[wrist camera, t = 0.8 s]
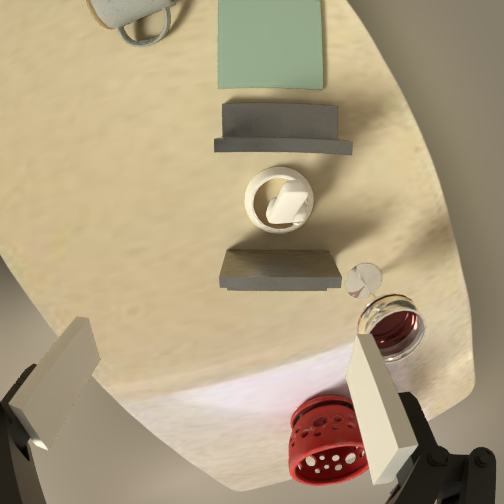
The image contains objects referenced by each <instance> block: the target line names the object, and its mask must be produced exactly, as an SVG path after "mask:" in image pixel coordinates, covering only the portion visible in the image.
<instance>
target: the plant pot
mask: <svg viewBox="0 0 504 504" xmlns="http://www.w3.org/2000/svg"><path fill="white" fill-rule="evenodd" d="M291 428H292V430H293V431H292V434H291V437H290V441H289V472H290V475H291V477H292V478H293V479H295V480H296V481H298V482H300V483H302V484H306V485H312V486H324V485H332V484H338V483H342V482H345V481H348V480H350V479H353V478H355V477H357V476H359V475H361V474H362V473H363V472H365V471H366V470H368V469H369V465H368V460H367V456H366V452H365V454H364V456H363V457H362V452H363V450H364V451H365V448H364V444H363V440H362V436H361V432H360V428H359V424H358V420H357V417H356V413H355V409H354V405H353V402H352V401H351V400H350V399H348V398H345V397H342V396H335V395H328V396H321V397H317V398H314V399H311V400H309V401H307V402H305V403H304V404H302V405H301V406H300V407H299V408H298V409H297V410H296V411H295V412H294V413H293V415H292V418H291ZM356 446H357V447H358V448H357V449H356ZM351 453H354V454H355V455H356V459H355V461H354V462H353V463H352V464H347V463H346V461H345V459H346V457H347V455H349V454H351ZM334 455H338V456H339V457H340V458H339V460H338V461H333V460H332V457H333V456H334ZM308 456H310V457H312V458H314V460H315V465H314V466H309V465H307V463H306V461H305V460H306V457H308ZM320 456H324V457H325V459H324V460H320V458H319V457H320ZM298 464H299V465H300V468H301V470H300V469H299V467H298ZM339 464H340V465H342V469H341V470H338V471H337V470H335V466H336V465H339ZM325 465H329V468H328V469H325V468H324V466H325ZM315 469H318V470H319V471H320V473H315Z"/></svg>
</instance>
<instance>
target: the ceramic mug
mask: <svg viewBox="0 0 504 504" xmlns="http://www.w3.org/2000/svg"><path fill="white" fill-rule="evenodd" d="M86 2H87V5H88V8H89V10H90V12H91V14H92V16H93V17H94V19H95V20H96V21H97V22H98V23H99V24H100V25H101V26H103V27H105V28H108V29H117V30H118V33H119V35H120V37H121V38H122V40H124V41H125V42H126V43H127V44H129V45H132V46H134V47H145V46H149V45H152V44H155V43H157V42H158V41H160V40H161V39H162V38H163V37H164V36H165V35H166V34H167V32H168V30H169V28H170V23H171V15H170V10H169V8H170V7H171V6H173V5H175V4H176V0H86ZM161 10H164V12H165V25H164V28H163V30H162V32H161V33H160V35H159V36H157V37H154V38H151V39H147V40H143V39H142V40H140V41H134V40H132V39H131V38H130V37H129V36H128V35H127V33H126V32H125V30H124V26H125V25H127V24H130V23H132V22H134V21H137V20H138V19H140V18H143V17H145V16H148V15H151V14H153V13H156V12H159V11H161Z"/></svg>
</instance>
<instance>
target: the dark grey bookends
mask: <svg viewBox="0 0 504 504" xmlns="http://www.w3.org/2000/svg"><path fill="white" fill-rule="evenodd" d="M337 125H338V106H327V105H312V104H289V103H230V104H222V131H223V137H221V138H216V139H214V152H302V153H326V154H343V155H352V146H353V142H351V141H345V140H339V139H337ZM219 281H220V288H227V290H238V291H327V288H341V281H342V276H341V274H340V272H339V270H338V268H337V266H336V264H335V262H334V260H333V258H332V256H331V254H330V252H329V251H297V250H227V251H226V254H225V258H224V261H223V265H222V269H221V272H220V276H219Z"/></svg>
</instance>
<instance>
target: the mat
mask: <svg viewBox="0 0 504 504" xmlns="http://www.w3.org/2000/svg"><path fill="white" fill-rule="evenodd" d="M226 88H294V89H314V90H323V56H322V27H321V8H320V1H319V0H218V89H226Z"/></svg>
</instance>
